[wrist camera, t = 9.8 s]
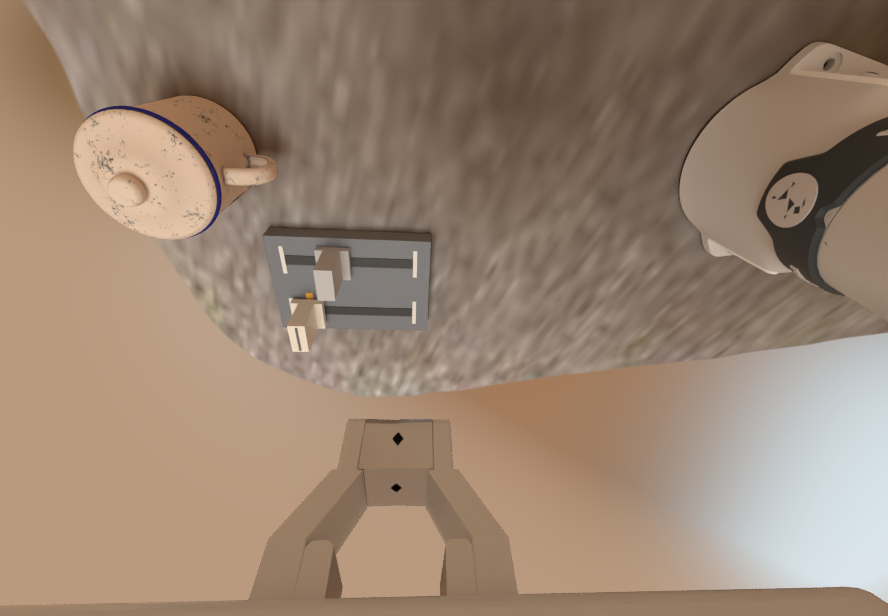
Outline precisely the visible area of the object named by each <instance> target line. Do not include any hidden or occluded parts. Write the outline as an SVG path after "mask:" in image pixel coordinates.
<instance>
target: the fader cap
mask: <svg viewBox="0 0 888 616" xmlns="http://www.w3.org/2000/svg"><path fill="white" fill-rule="evenodd" d="M290 306H291V311H292V317H291V319H290V321H289V323H288V325H287V328H288V333H289V337H290V342H291V346H292V351H294V352H309V350H310V348H311V345H312V342H313V340H314V337H315V334H316V332H317V329H318V328H324V329H325V328H326V325H327V322H326V315H325V308H324V301H318V300H311V299H292V300H291V302H290Z"/></svg>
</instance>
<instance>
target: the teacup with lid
mask: <svg viewBox="0 0 888 616" xmlns="http://www.w3.org/2000/svg"><path fill="white" fill-rule="evenodd" d="M73 156H74V163H75V167H76V170H77V173H78V175H79V178H80V180H81V182H82V184H83V185H84V187H85V188H86V190H87V191H88V193H89V194H90V196H91V197H92V198H93V199H94V200H95V202H96V203H97V204H98V205H99V206H100V207H101V208H102V209H103V210H104V211H105V212H106V213H108V214H109V215H110V216H111V217H113V218H114V219H116V220H117V221H118V222H120V223H121V224H123V225H125V226H126V227H128V228H130V229H132V230H134V231H137V232H139V233H142V234H145V235H148V236H152V237H155V238H161V239H183V238H188V237H192V236H195V235H198V234H200V233H202V232H204V231H205V230H206V229H208V228H209V227H210V226H211V225H212V224H213V222H214V221H215V220H216V218H217V216H218V215H219V214H220V213H221V212H222V211H223V210H225V209H226V208H227V207H228V206H229V205H230V204H232V203H233V202H234V201H235V200H236V199H238V198H239V197H240V196H241V195H242V194H243V193H245V192H246V191H247V190H248V189H249V188H250V186H251V185H260V184H265V183H269V182H271V181H273V180H274V179H275V178H276V177H277V175H278V169H277V165H276V163H275V161H274V160H273V159H271V158H269V157H266V156H263V155H256V151H255V148H254V145H253V142H252V140H251V138H250V136H249V134H248V133H247V131H246V130H245V128H244V127H243V125H242V124H241V123H240V122H239V121H238V120H237V119H236V118H235V117H234V116H233V115H232V114H231V113H230V112H229V111H227V110H226V109H225V108H223V107H221V106H220V105H218V104H216V103H214V102H212V101H210V100H208V99H205V98H201V97H197V96H186V95H184V96H177V97H172V98H168V99H163V100H159V101H155V102H150V103H146V104H141V105H137V106H133V107H131V106H112V107H107V108H104V109H101V110H98V111H96V112H94V113H93V114H91V115H90V116H89V117H88V118H87V119H86V120H85V121H84V122H83V123H82V125H81V126H80V127H79V129H78V131H77V133H76V136H75V139H74V145H73Z"/></svg>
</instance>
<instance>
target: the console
mask: <svg viewBox="0 0 888 616" xmlns="http://www.w3.org/2000/svg"><path fill="white" fill-rule="evenodd" d="M262 236H263V241H264V245H265V249H266V254H267V258H268V263H269V267H270V272H271V276H272V280H273V285H274V289H275V294H276V298H277V303H278V307H279V311H280V316H281V320H282V325H283V327H287V325H288V323H289V321H290V319H291V317H292V311H291V306H290V302H291V300H292V299H311V300H318V301H324V308H325V315H326V322H327V325H326V328H338V329H382V330H425V331H427V318H428V296H429V274H430V251H431V234H429V233H404V232H379V231H354V230H329V229H304V228H279V227H269V228H268V229H267V231H266V232H265V233H264V234H263V235H262Z"/></svg>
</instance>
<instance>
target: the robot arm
mask: <svg viewBox="0 0 888 616" xmlns="http://www.w3.org/2000/svg"><path fill="white" fill-rule="evenodd" d="M826 61H827V64H826V66H825V67H824V68H823V66H824V64H825V62H826ZM679 193H680V202H681V206H682V209H683V211H684V213H685V215H686V217H687V218H688V219H689V221H690V222H691V223H692V224H693V225H694V226H695V227H696V228H697V229H698V230H699V231H700V233H701V237H702V243H703V247H704V249H705V251H706V252H707V253H709V254H711V255H713V256H715V257H721V256H728V255H736V256H738V257H739V258H741V259H743V260H745V261H746V262H748V263H750V264H752V265H754V266H755V267H757V268H759V269H761V270H763V271H765V272H767V273H770V274H777V273H786V272H794V273H795V274H796V275H797V276H798V277H800V278H801V279H803V280H804V281H806V282H808V283H810V284H811V285H814V286H816V287H820V288H822V289H824V290H825V291H827V292H830V293H833V294H837V295H843V296H847V297H849V298H850V299H852V300H854V301H855V302H857V303H859V304H860V305H862V306H864V307H865V308H867V309H868V310H870V311H872V312H873V313H875V314H877V315H878V316H880V317H882V318H883V319H885V320H887V321H888V65H885V64H882V63H880V62H877V61H875V60H872V59H869V58H867V57H864V56H862V55H859V54H857V53H854V52H851V51H849V50H846V49H844V48H841V47H839V46H836V45H833V44H830V43H825V42H814V43H811V44H809V45H808V46H806V47H805V48H803V49H802V50H801V51H800V52H799V53H797V54H796V55H795V56H794V57H793V58H792V59H791V60H790V61H789V62H788V63H787V64H786V65H785V66H784V67H783V68H782V69H781V70H780V71H779V72H778V73H776V74H775V75H773V76H772V77H770V78H769V79H767V80H765V81H764V82H762V83H760V84H758V85H756V86H754V87H752V88H751V89H749V90H747V91H746V92H744V93H742V94H741V95H740V96H738V97H737V98H735V99H734V100H733V101H731V102H730V103H729V104H728V105H727V106H725V107H724V108H723V109H722V110H721V111H720V112H719V113H718V114H717V115H716V116H715V117H714V118H713V119H712V120H711V121H710V122H709V124H708V125H707V126H706V127H705V128H704V130H703V131H702V132H701V134H700V135H699V137H698V138H697V140H696V141H695V143H694V145H693V146H692V148H691V150H690V152H689V154H688V157H687V159H686V161H685V164H684V167H683V170H682V174H681V179H680V189H679ZM450 429H451V428H450V422H449V420H432V419H406V420H403V419H401V420H378V419H349V420H348V422H347V425H346V430H345V435H344V440H343V444H342V449H341V454H340V459H339V463H338V468H337V470H331V471H330V472H329V474H328V475H327V476H326V477H325V478H324V479H323V480H322V481H321V482H320V483H319V485H318V486H317V487H316V488H315V489H314V490H313V491H312V492H311V493H310V494H309V495H308V497H306V499H305V500H304V501H303V502H302V503H301V504H300V505H299V506H298V507H297V509H295V511H294V512H293V513H292V514H291V515H290V516H289V517H288V518H287V519H286V520H285V521H284V523H283V524H282V525H281V526H280V527H279V528H278V529H277V530H276V531H275V532H274V533H273V535H272V536H271V537H270V538H269V539H268V541H267V545H266V548H265V551H264V554H263V557H262V560H261V563H260V566H259V570H258V573H257V576H256V579H255V582H254V585H253V588H252V591H251V594H250V597H249V600H242V601H241V600H238V601H194V602H154V603H153V602H149V603H108V604H107V603H106V604H64V605H62V604H61V605H20V606H19V605H18V606H0V616H888V603H886V602H884V601H883V600H881V599H880V598H878V597H877V596H875V595H874V594H872V593H870V592H868V591H865V590H862V589H859V588H851V587H826V588H824V587H823V588H781V589H780V588H778V589H734V590H689V591H688V590H687V591H647V592H646V591H645V592H644V591H643V592H602V593H601V592H599V593H598V592H597V593H551V594H518V592H517V586H516V580H515V574H514V568H513V562H512V556H511V550H510V544H509V538H508V536H507V535H506V533H505V532H504V530H503V529H502V528H501V526H500V525H499V524H498V522H497V521H496V520H495V518H494V517H493V516H492V514H491V513H490V512H489V510H488V509H487V508H486V506H485V505H484V504H483V502H482V501H481V500H480V498H479V497H478V496H477V494H476V493H475V491H474V490H473V489H472V488H471V486H470V485H469V483H468V482H467V481H466V479H465V478H464V477H463V476H462V474H461V473H460V471H459V470H455V469H453V459H452V444H451V430H450ZM390 505H406V506H408V505H409V506H410V505H411V506H426V509H427V511H428V513H429V514H430V516H431V518H432V520H433V522H434V524H435V525H436V527H437V529H438V531H439V533H440V535H441V536H442V538H443V540H444V542H445V544H446V546H445V553H444V560H443V567H442V574H441V581H440V596H416V597H371V598H341V594H342V582H341V578H340V573H339V568H338V563H337V559H336V553H337V552H338V551H339V549H340V548H341V546H342V545H343V543H344V542H345V540H346V539H347V537H348V535H349V534H350V533H351V531H352V530H353V528H354V527H355V525H356V524H357V522H358V521H359V519H360V518H361V516H362V515H363V514H364V512H365V511H366V509H367V506H390Z"/></svg>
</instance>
